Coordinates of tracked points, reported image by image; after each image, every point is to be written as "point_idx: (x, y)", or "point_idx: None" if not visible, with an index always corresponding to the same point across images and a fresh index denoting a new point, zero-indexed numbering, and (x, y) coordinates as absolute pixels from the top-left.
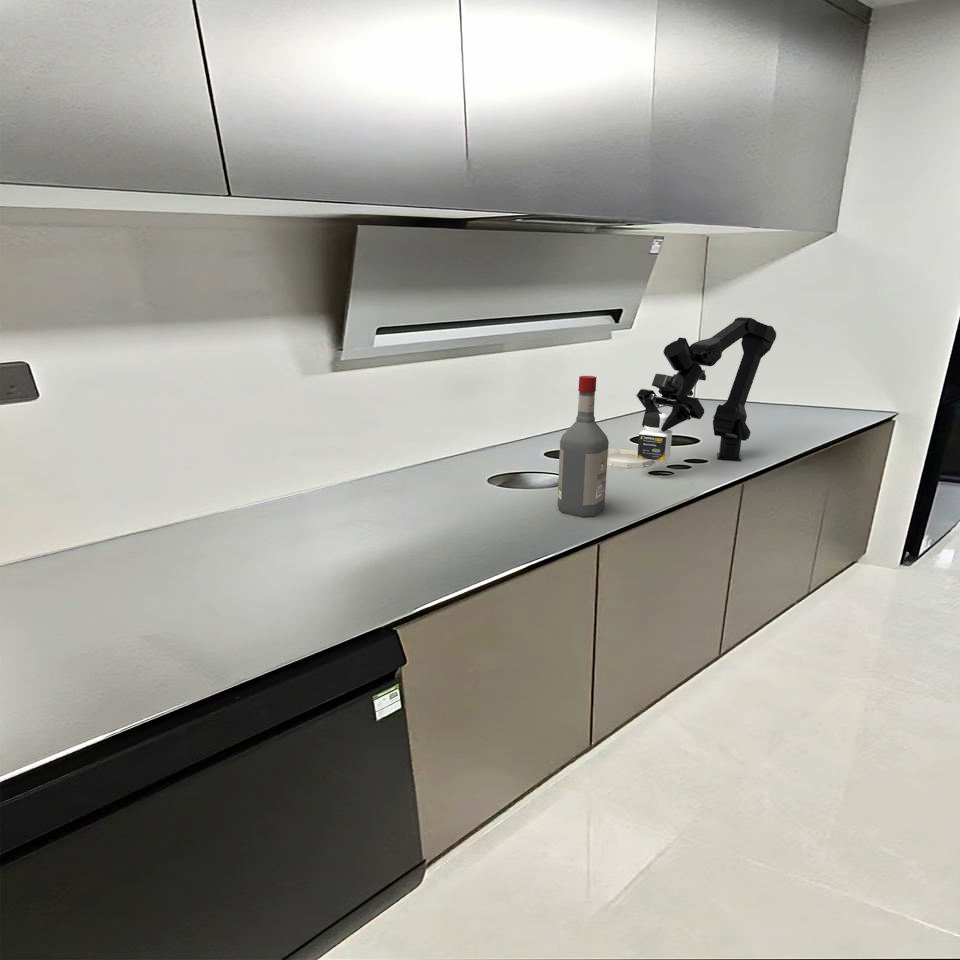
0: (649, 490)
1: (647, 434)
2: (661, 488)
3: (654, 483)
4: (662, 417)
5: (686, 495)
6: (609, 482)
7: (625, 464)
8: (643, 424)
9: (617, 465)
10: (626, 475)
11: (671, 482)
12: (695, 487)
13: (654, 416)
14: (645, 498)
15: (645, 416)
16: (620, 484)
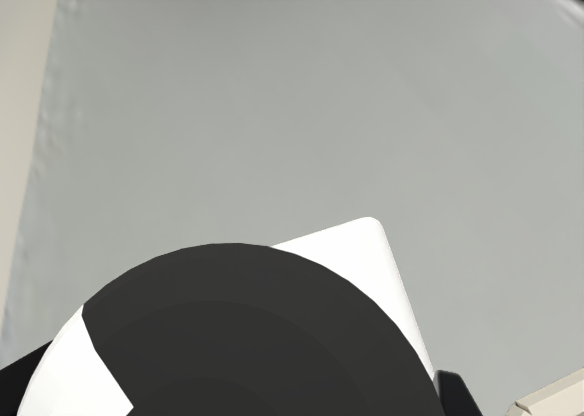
0: (195, 124)
1: (285, 243)
2: (169, 190)
3: (232, 238)
4: (51, 347)
5: (43, 181)
6: (401, 89)
7: (538, 399)
8: (437, 378)
9: (579, 372)
10: (420, 259)
11: None
12: (53, 327)
13: (168, 271)
14: (156, 23)
15: (380, 309)
16: (343, 101)
